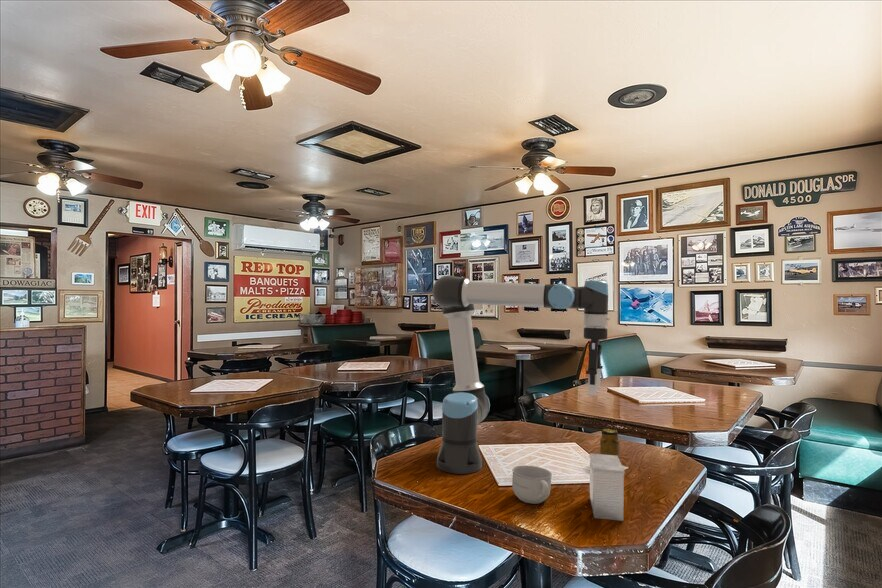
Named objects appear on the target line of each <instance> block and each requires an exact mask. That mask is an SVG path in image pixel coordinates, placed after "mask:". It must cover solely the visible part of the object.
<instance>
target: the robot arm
mask: <svg viewBox="0 0 882 588" xmlns="http://www.w3.org/2000/svg"><path fill="white" fill-rule="evenodd" d="M431 294H432V298H433V300H434V302H435V303H436V304H437V305H438V306H440V307H441V309H442V314H443V316H444V317H445V318H446V319H447V321H448V322H447V323H448V330H449V332H448V333H449V339H450V345H451V353H452V363H453V368H454V370H453V371H454V377H455V385H454V387H453V388H452V393H449V394H447V395H446V396H445V397H444V398H443V400H442V406H441V411H442V412H441V413H442V414H441V415H442V416H441V417H442V421H441V423H442V425H441V427H442V428H441V429H442V431H441V438H442V439H441V440H442V441H441V446H440V448H439V451H438V453H437V454H438V455H437V457H436V468H437V469H439V470H440V471H442V472H444V473H448V474H449V473H450V474H455V475H467V474H472V473H476V472H478V471H480V470H481V469H482V468H483V466H482V465H483V460H482V456H481V453H480V449H479V446H478V442H477V441H478V440H477V439H478V425H479V424H480V423H482V422H483V421H484V420H485V419H486V418H487V416H488V414H489V412H490V407H491V403H490V399H489V397H488V395H487V394H486V391H485V390H486V389H485V385H484V384H483V383H482V382H481V381H480V375H479V368H478V359H477V353H476V352H477V351H476V345H475V336H474V330H473V322H472V316H473V314H474V312H475V307H474V305H485V306H507V307H524V308H545V309H557V310H558V309H559V310H565V309H568V310H569V309H574V310H576V309H578V310H583V313H584V314H583V326H585V327H584V328H583V338H584V339H586V340H590V342H589V344H588V346H587V347H588V364H587V365H588V366H587V370H585V375H587V395H591V396H597V395H598V389H601V370H603V365H602V361H601V360H602V358H601V356H602V347H603V346H602V344H601V343H602V342H601V341H605V340H607V339H608V328H607V327H608V321H610V317H608V312H609V285H608V282H606V281H604V280H586V281H585V282H584V285H583V286H570V285H567V284H563V283H558V284H549V283H548V284H546V283H523V282H521V283H520V282H498V281H497V282H494V281H493V282H491V281H470V279H469V278H467V277H461V276H455V275H444V276H441V277H439V278H438V279H436V281H435V282H434V284H433V286H432V293H431Z"/></svg>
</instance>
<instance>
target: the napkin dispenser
mask: <svg viewBox="0 0 882 588" xmlns="http://www.w3.org/2000/svg"><path fill="white" fill-rule="evenodd" d="M589 459H590V461H589V462H590V463H589V499H590V500H589V501H590V505H591V509H592V513H593V517H594V519H599V520H600V519H601V520H609V521H610V520H611V521H619V522H624V507H625V505H624V503H625V502H624V499H625V498H624V495H625V494H624V492H625V491H624V489H625V486H624V485H625V484H624V482H625V479H624V477H625V473H626V472H625V470H624V469H623V467H622V466H623V464H622V462H621V460H620V457H619V458H618V456H615V455H603V454H600V453H590V452H589Z"/></svg>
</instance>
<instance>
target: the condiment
mask: <svg viewBox="0 0 882 588" xmlns="http://www.w3.org/2000/svg"><path fill="white" fill-rule="evenodd" d="M599 441H600V444H599V446H600V447H599V449H600V451H599V454H603V455H615V456H618V458H619V459H620V439H619V432H618V430H616V429H612V428H611V429H610V428H603V429H602V430H601V437H600V440H599ZM622 467H623V469H624V471H625V470H627V469H629V468H630V467H629V466H625V465H622Z"/></svg>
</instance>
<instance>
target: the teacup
mask: <svg viewBox="0 0 882 588" xmlns="http://www.w3.org/2000/svg"><path fill="white" fill-rule="evenodd" d="M511 472H512V477H511V478H512V480H511V483H512V491H513V493H514V495H515V497H517V498H518V499H519V500H520V501H522V502H523V503H526V504H532V505H533V504H534V505H536V504H541V503H543V502H544V501H546V500H547V499H548V498H549V496H550V493H551V486H552V485H551V484H552V476H553V475H552V472H551V471H550V470H548V469H546V468H543V467H541V466H534V465H518V466H514V467H512V471H511Z"/></svg>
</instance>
